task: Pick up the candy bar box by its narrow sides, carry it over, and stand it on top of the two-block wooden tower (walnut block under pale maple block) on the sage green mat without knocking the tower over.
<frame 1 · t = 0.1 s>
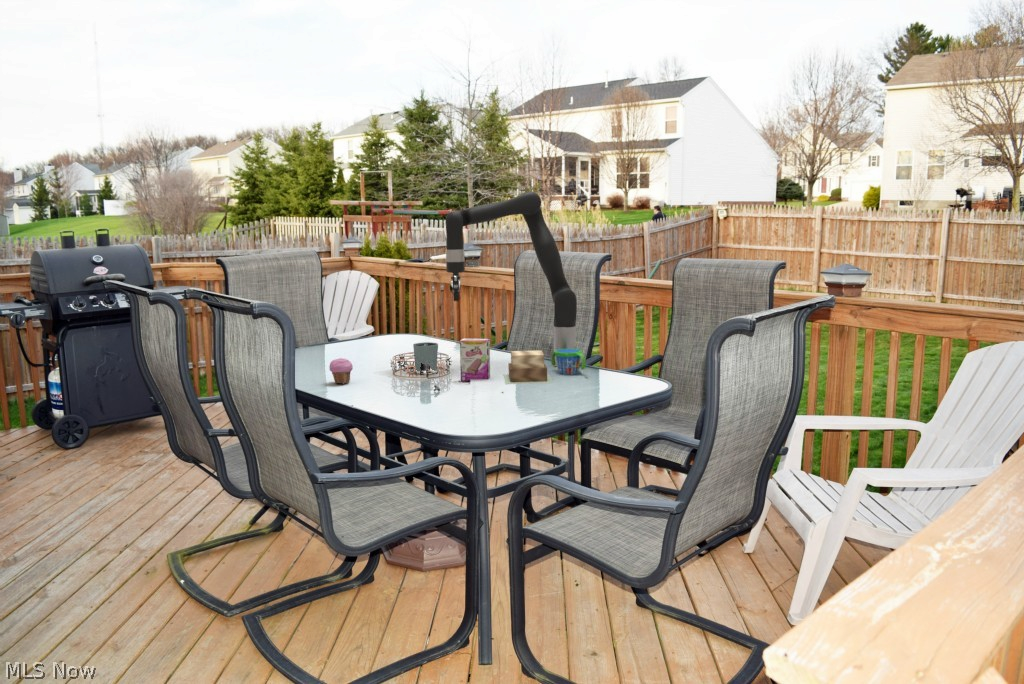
hand: (456, 299, 323), 29 cm above the table, tool pointing down, fingers open, 8 cm apart
cupcake: (341, 384, 304), on the table
snack cup: (568, 376, 312), on the table
walnut block: (527, 378, 302), point 1 cm above the table, touching maple block, sage mat
sage mat: (527, 381, 302), on the table
maple block: (527, 365, 301), point 6 cm above the table, touching walnut block
candy bar box: (475, 381, 305), on the table
grey green cup: (426, 373, 323), on the table
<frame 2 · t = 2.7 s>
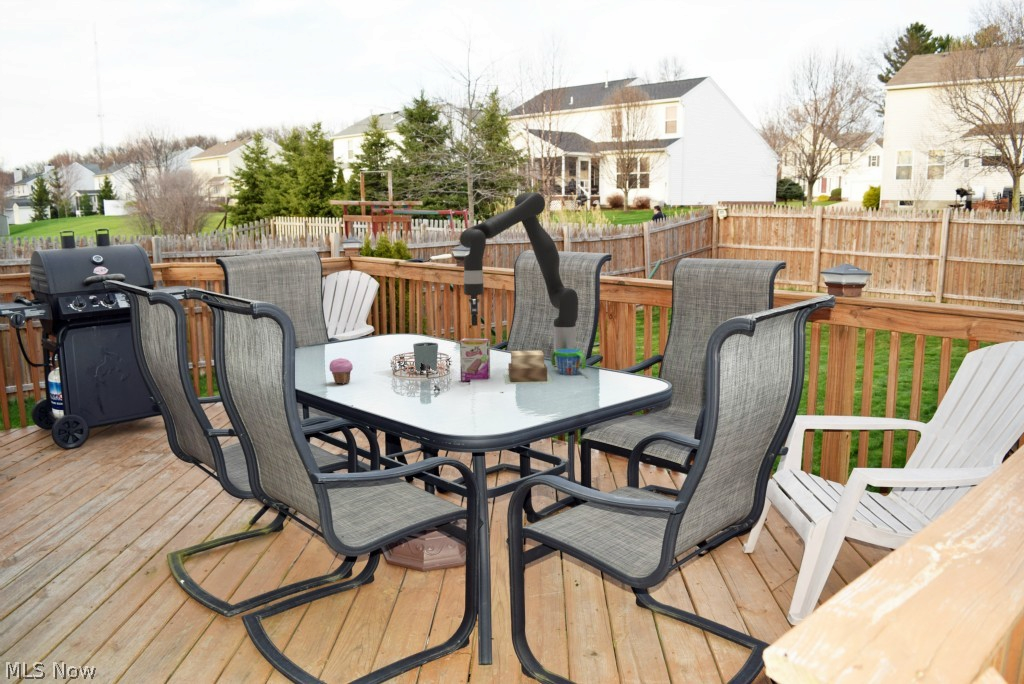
hand: (474, 324, 301), 22 cm above the table, tool pointing down, fingers open, 8 cm apart
nothing on the table moved.
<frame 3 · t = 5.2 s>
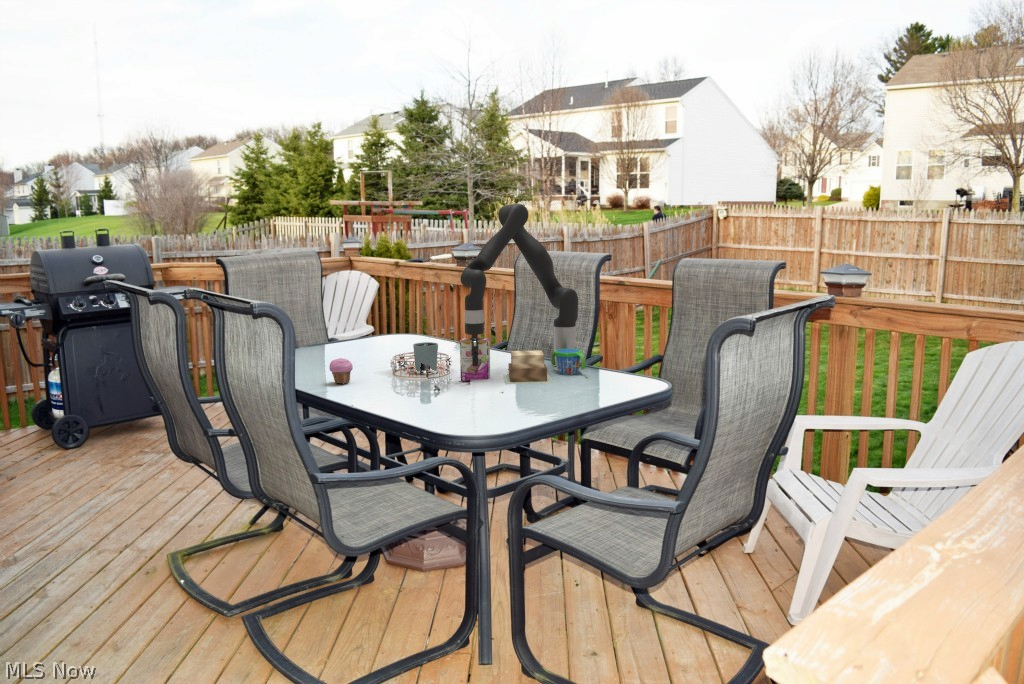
hand: (475, 364, 304), 6 cm above the table, tool pointing down, fingers closed on candy bar box, 5 cm apart
candy bar box: (475, 381, 305), on the table, touching gripper
everything else where it was.
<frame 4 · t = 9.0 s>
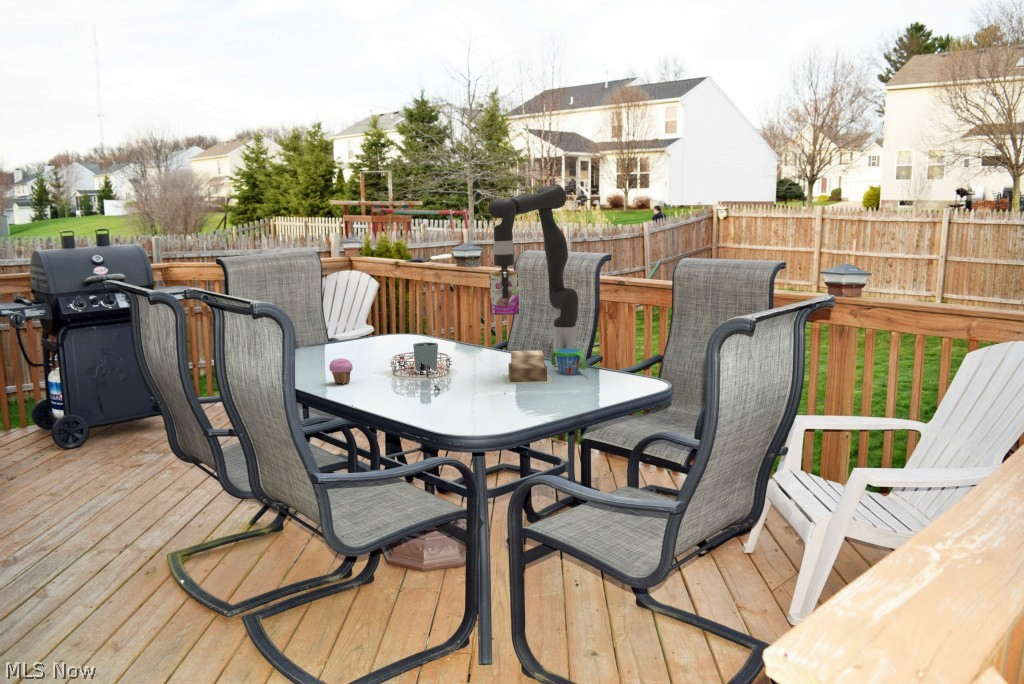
hand: (505, 297, 298), 33 cm above the table, tool pointing down, fingers closed on candy bar box, 5 cm apart
candy bar box: (505, 314, 299), point 26 cm above the table, touching gripper
everything else where it was.
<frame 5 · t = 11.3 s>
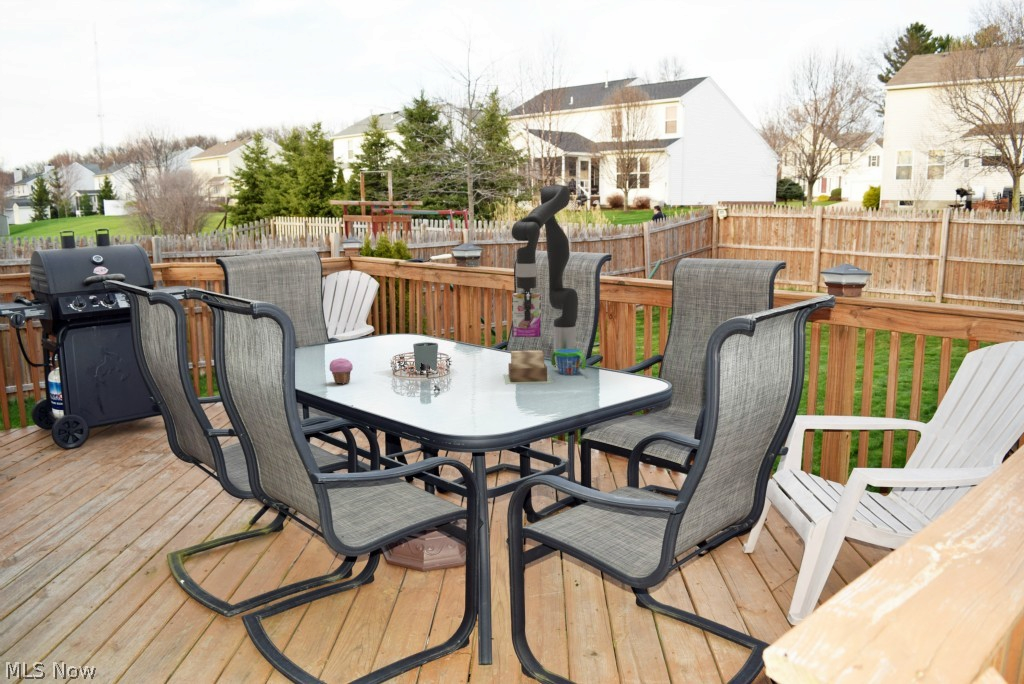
hand: (526, 319, 298), 24 cm above the table, tool pointing down, fingers closed on candy bar box, 5 cm apart
candy bar box: (527, 336, 299), point 17 cm above the table, touching gripper
everything else where it was.
when the fingers open (19 cm above the table, at t = 13.2 s): candy bar box drops 1 cm, resting on maple block.
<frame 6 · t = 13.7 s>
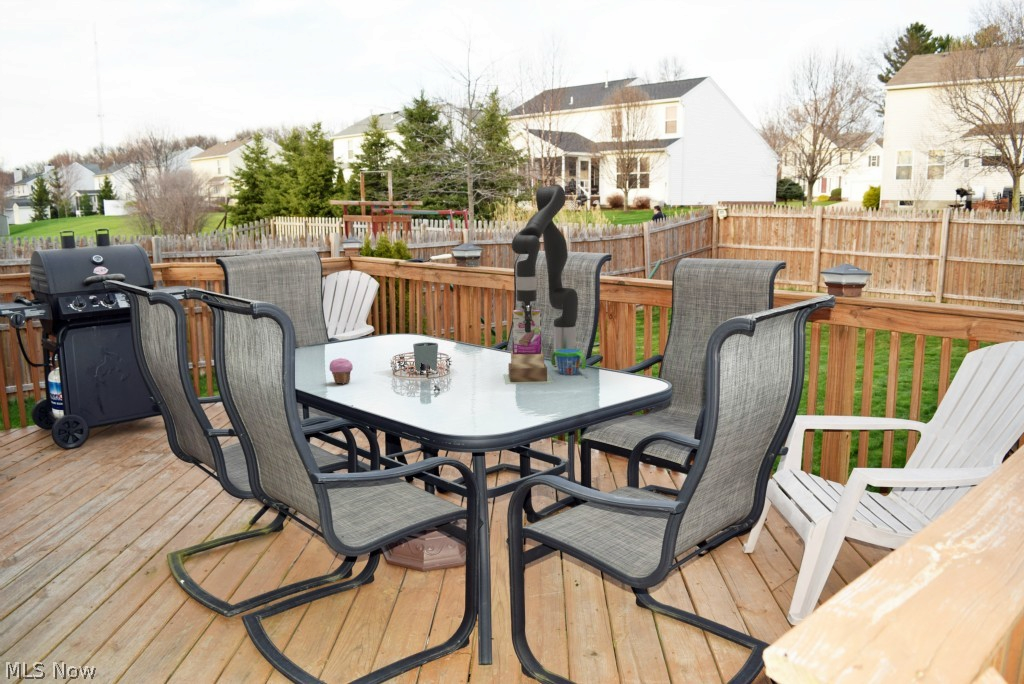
hand: (527, 330, 299), 20 cm above the table, tool pointing down, fingers open, 8 cm apart
maple block: (527, 365, 301), point 6 cm above the table, touching candy bar box, walnut block
candy bar box: (527, 353, 300), point 11 cm above the table, touching maple block
everything else where it was.
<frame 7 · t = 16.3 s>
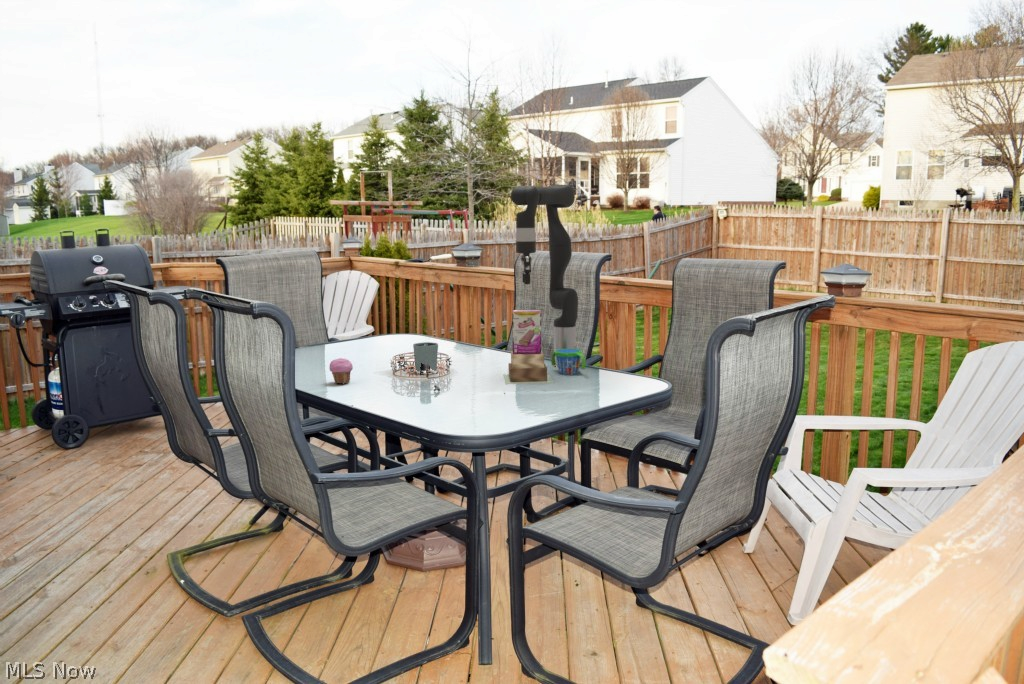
hand: (526, 283, 296), 38 cm above the table, tool pointing down, fingers open, 8 cm apart
nothing on the table moved.
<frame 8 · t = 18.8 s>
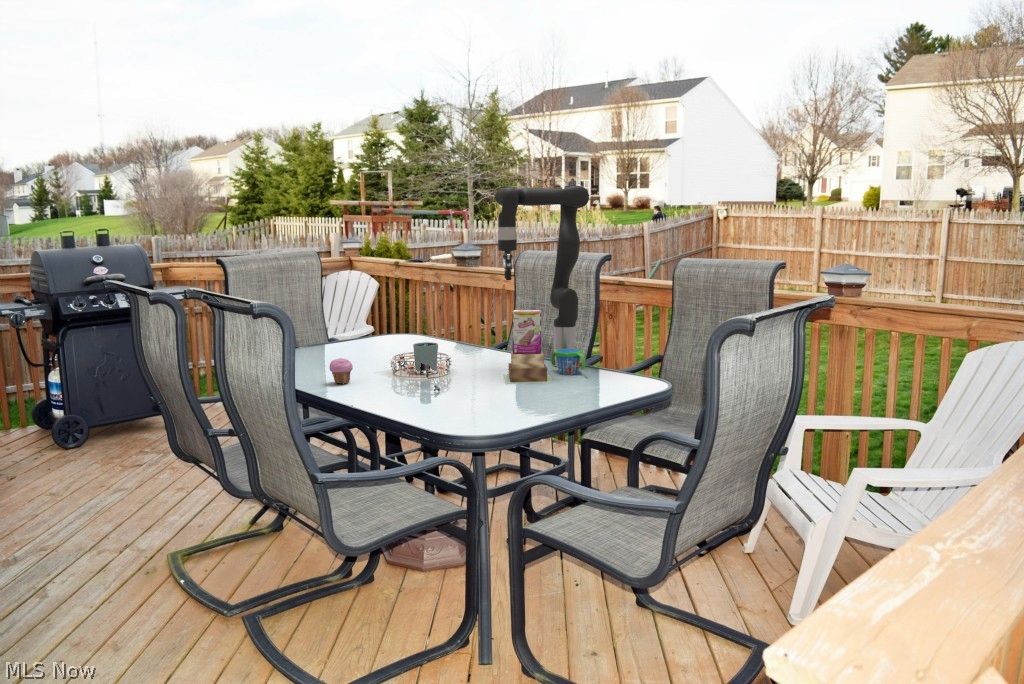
hand: (508, 279, 313), 38 cm above the table, tool pointing down, fingers open, 8 cm apart
nothing on the table moved.
at the end: candy bar box 0.1 cm off-centre on the maple block, point 4.8 cm above the maple block's base; candy bar box tilted 0°; maple block moved 0.0 cm from its start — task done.
